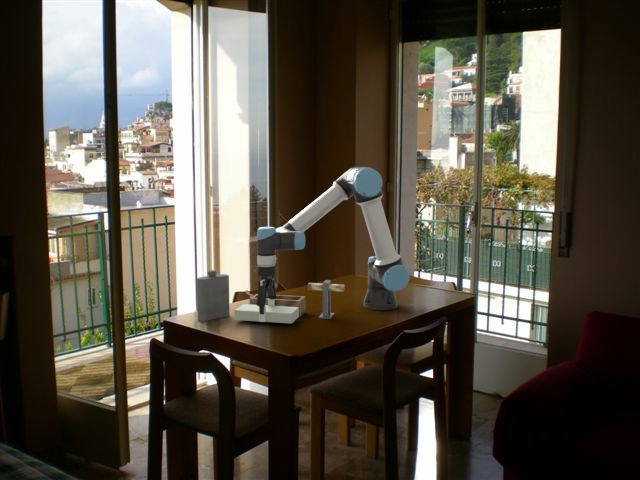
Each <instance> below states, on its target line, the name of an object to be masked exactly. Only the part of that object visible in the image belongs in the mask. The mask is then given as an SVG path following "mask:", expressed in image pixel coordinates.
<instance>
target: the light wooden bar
mask: <svg viewBox="0 0 640 480" xmlns="http://www.w3.org/2000/svg"><path fill="white" fill-rule="evenodd" d="M345 287H346V285H345V284H341V283H339V284H338V283H331V284H328V291H330V292H339V293H340V292H344V291H345ZM307 291H322V292H323V282H321V283H319V282H317V283H316V282H308V283H307Z"/></svg>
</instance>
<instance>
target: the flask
mask: <svg viewBox="0 0 640 480" xmlns="http://www.w3.org/2000/svg"><path fill="white" fill-rule="evenodd" d="M196 304H197V305H196V306H197V308H196V309H197V313H196V315H197V317H196V318H197V321H198V322H208V321H211V320H212V321H213V320H216V319H222V318H223V319H224V318H228V317H230V275H228V274H224V273H221V274H217V271H216V270H214V269H211V270H208V271H207V275H204V276H201V277H200V276H199V277H197V278H196Z"/></svg>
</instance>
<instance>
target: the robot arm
mask: <svg viewBox="0 0 640 480" xmlns="http://www.w3.org/2000/svg"><path fill="white" fill-rule="evenodd" d="M382 188H383V178H382V175H381V174H380V173H379V172H378V171H377V170H376V169H374V168H373V167H369V166H353V167H351V168H349V169H348V170H347V171H345V172H344V173H343V174H342V175H341V176H339V178H337V179H336V180H334V181H333V183H332V186H331V187H330V188H328V189H327V190H326V191H325V192H323V193H322V194H321V195H320V196H318V197H317V198H316V199H314V201H312V202H311V203H310V204H309V205H307V206H306V207H305V208H304V209H302V210H301V211H299V213H297V214H296V215H295V216H294V217H292V218H291V219H290V220H289V221H287V222H286V223H285V224H284V225H283V226H279V227H277V228H276V227H274V226H260V227H258V228H257V231H256V233H257V234H256V245H257V246H256V249H257V250H256V251H257V254H256V255H257V256H256V261H257V262H256V264H257V276H261V280H258V288H257V289H258V290H257V294H258V298H257V306H259V321H258V323H259V322H260V323H267V322H266V306H265V302H266V296H267V293H268V297H269V299H268V306H275V299H277V297H276V295H277V288H275V284H276V281H275V279H276V278H275V275H276V274H277V266H276V264H277V259H278V257H277V252H276V251H293V250H294V251H297V250H299V251H300V250H304V249H305V247H306V235H305V234H306V233H305V231H306V230H308V229H309V228H310V227H312V226H313V225H314V224H315V223H316V222H318V221H319V220H320V219H322V218H323V217H324V216H325V215H327V214H328V213H329V212H331V211H332V210H333V209H334V208H336V207H337V206H338V205H339V204H340V203H342V202H343V201H345V200H346V201H349V199H350V198H351V197H353V196H354V199H355V200H354V201H355V204H356V205H359V206H360V208H361V212H362V214H363V218H364V221H365V224H366V228H367V231H368V233H369V238H370V241H371V244H372V247H373V251H374V254H375V255H372V256H369V257H368V260H367V290H366V294H365V296H364V300H363V308H365V309H368V310H374V311H390V310H394V309H397V308H398V300H397V295H396V293H395V292H399V291H401V290H402V291H403V289H405V288H406V286H407V285H408V284H409V282H410V277H411V275H410V272H409V270H408V269H407V267H406V266H405V265H404V262H403V259H402V256H401V255H400V254H398V253H397V250H396V249H395V245H394V242H393V237H392V234H391V230H390V227H389V224H388V221H387V218H386V214H385V210H384V206H383V203H382V199H383V196H384V194H383V190H382ZM261 302H262V303H261Z"/></svg>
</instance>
